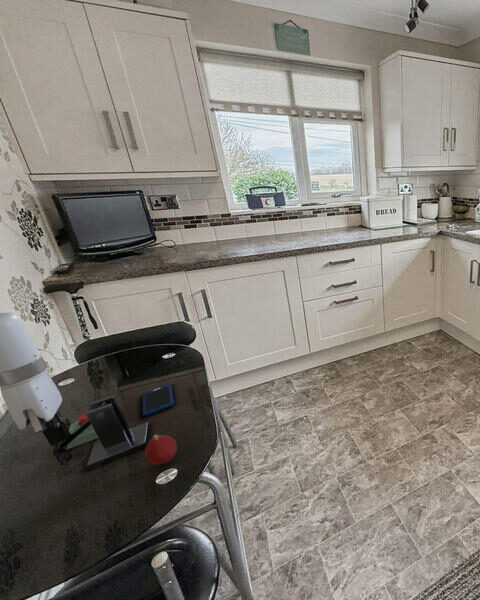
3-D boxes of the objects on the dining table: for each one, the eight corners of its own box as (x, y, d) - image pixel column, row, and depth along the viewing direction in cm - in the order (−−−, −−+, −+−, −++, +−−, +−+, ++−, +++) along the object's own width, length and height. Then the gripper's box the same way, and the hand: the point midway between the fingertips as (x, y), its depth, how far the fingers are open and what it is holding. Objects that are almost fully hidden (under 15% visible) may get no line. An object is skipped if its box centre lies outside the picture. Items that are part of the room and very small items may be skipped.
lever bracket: (88, 469, 75) (63, 425, 70) (96, 445, 82) (74, 404, 78) (146, 446, 80) (126, 404, 76) (149, 425, 87) (131, 386, 83)
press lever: (63, 455, 73) (51, 451, 72) (69, 442, 77) (58, 437, 76) (111, 413, 76) (101, 408, 75) (115, 403, 80) (105, 398, 79)
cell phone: (171, 385, 105) (170, 383, 105) (174, 405, 95) (173, 403, 94) (143, 395, 101) (142, 393, 101) (143, 417, 91) (142, 415, 90)
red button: (79, 427, 84) (76, 422, 83) (82, 419, 87) (79, 414, 86) (97, 421, 85) (94, 415, 85) (99, 413, 88) (96, 408, 88)
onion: (151, 462, 75) (137, 435, 72) (179, 448, 78) (168, 421, 76) (153, 477, 71) (139, 449, 68) (183, 462, 74) (171, 434, 71)
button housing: (66, 449, 82) (59, 437, 80) (74, 431, 88) (68, 419, 87) (116, 431, 87) (110, 419, 85) (120, 415, 93) (115, 403, 92)
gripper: (9, 363, 72) (49, 428, 78) (-25, 396, 60) (25, 470, 66) (55, 351, 76) (89, 415, 82) (31, 380, 64) (74, 452, 70)
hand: (61, 439), depth 74 cm, fingers closed
